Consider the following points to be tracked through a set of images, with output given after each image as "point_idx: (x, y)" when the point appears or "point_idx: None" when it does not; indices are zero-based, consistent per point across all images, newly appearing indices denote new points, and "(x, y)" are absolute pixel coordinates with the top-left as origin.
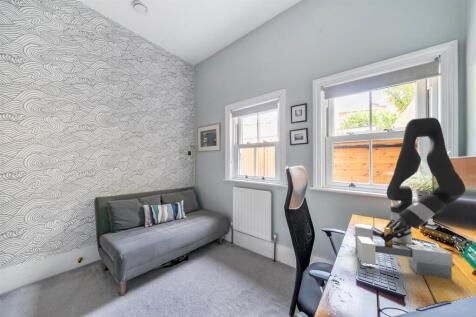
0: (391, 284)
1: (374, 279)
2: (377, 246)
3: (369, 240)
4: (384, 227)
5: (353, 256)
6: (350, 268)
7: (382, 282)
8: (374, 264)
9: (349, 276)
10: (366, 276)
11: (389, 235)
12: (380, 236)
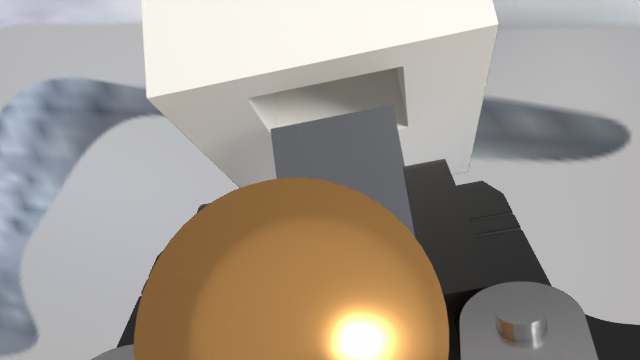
0: (7, 299)
1: (38, 175)
2: (279, 166)
3: (314, 22)
4: (355, 196)
5: None
6: None
7: (13, 231)
8: None
9: (14, 3)
10: (63, 119)
11: None
12: (405, 181)
